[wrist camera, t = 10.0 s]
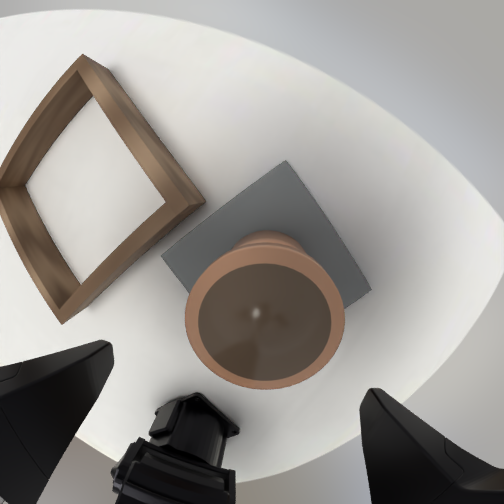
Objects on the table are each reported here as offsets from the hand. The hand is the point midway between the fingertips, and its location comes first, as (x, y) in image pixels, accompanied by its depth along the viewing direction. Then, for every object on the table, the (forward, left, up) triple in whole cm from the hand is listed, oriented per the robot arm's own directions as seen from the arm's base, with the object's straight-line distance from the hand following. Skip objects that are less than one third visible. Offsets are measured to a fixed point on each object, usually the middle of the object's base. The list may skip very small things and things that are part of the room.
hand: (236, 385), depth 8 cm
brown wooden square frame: (+14, +7, -12) cm, 20 cm away
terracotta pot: (0, -1, -11) cm, 11 cm away
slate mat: (0, -1, -12) cm, 12 cm away
